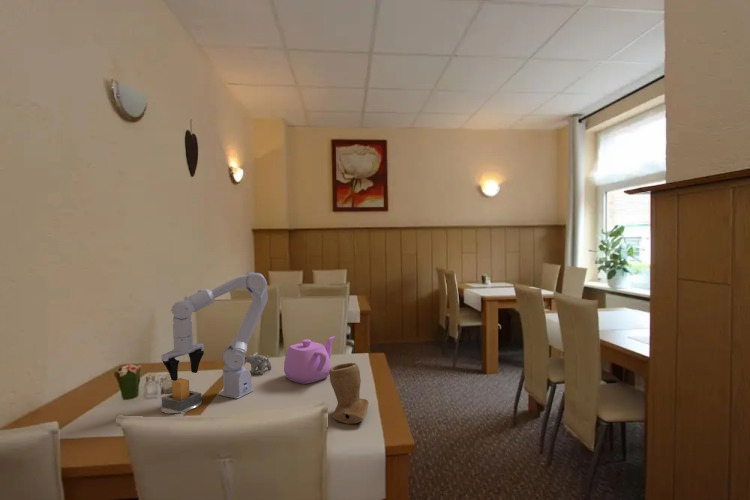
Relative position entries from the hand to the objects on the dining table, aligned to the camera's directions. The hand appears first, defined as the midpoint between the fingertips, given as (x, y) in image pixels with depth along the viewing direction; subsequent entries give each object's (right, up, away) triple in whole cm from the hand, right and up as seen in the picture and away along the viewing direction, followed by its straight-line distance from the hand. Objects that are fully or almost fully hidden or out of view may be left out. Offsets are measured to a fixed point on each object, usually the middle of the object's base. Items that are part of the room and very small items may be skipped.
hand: (184, 376), depth 125 cm
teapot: (+38, -8, +22) cm, 45 cm away
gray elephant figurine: (+14, -9, +30) cm, 35 cm away
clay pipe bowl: (+56, -8, -12) cm, 58 cm away
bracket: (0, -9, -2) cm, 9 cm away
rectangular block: (0, -9, -2) cm, 9 cm away
